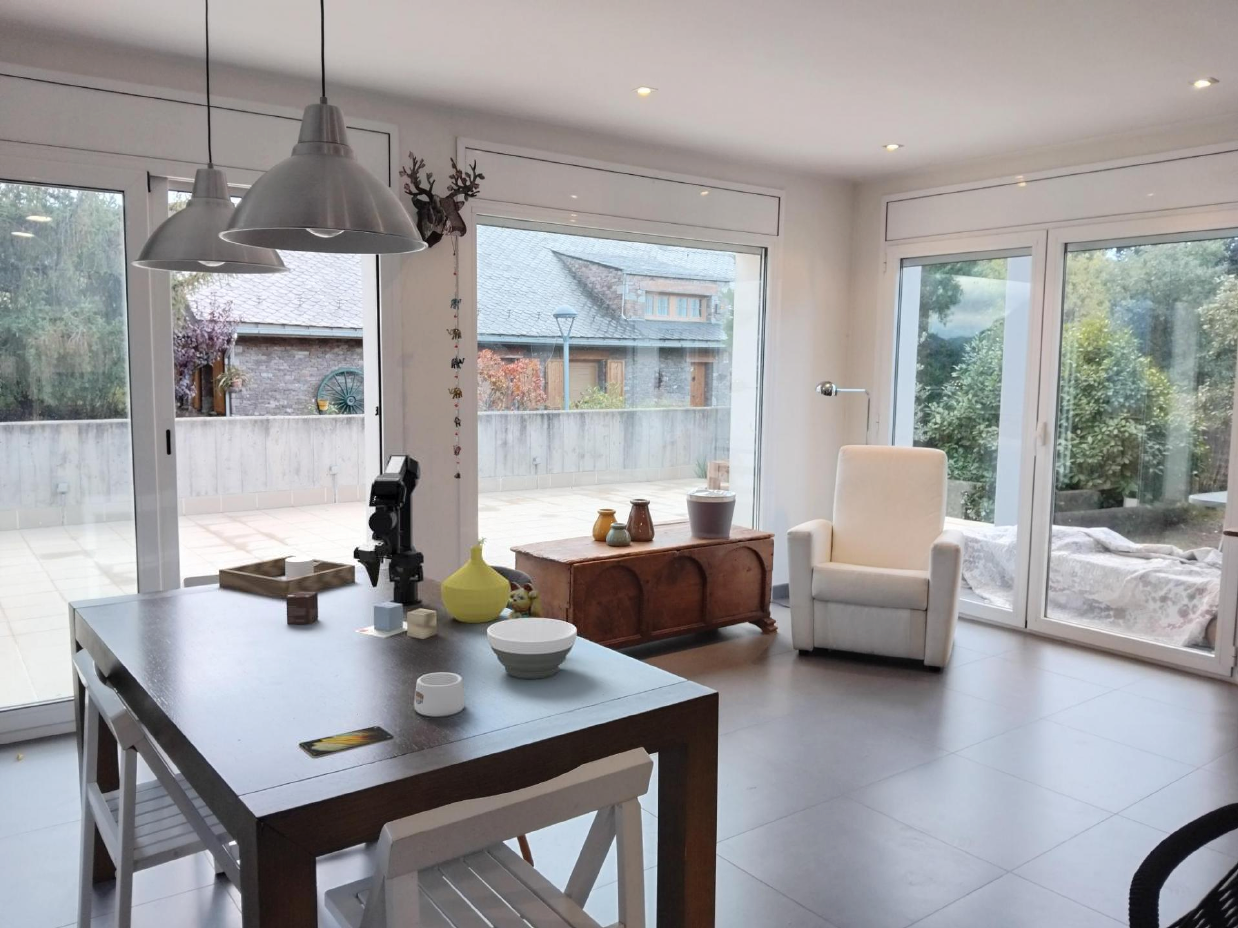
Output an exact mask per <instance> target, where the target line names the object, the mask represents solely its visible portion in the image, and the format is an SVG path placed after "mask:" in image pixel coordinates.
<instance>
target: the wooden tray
mask: <svg viewBox="0 0 1238 928" xmlns="http://www.w3.org/2000/svg"><path fill="white" fill-rule="evenodd" d="M291 557H298V556H296V555H287V556H282V557H277V558H272V559H267V560H260V561H256V562H252V563H246V564H241V565H237V566H231V567H226V568H222V569H218V579H219V583H218V584H219V585H218V586H219V587H220V588H225V589H232V590H236V591H243V592H248V593H253V594H259V595H263V596H269V597H273V598H279V599H283V600H284V599H285V600H286V597H287V596H288V595H290V594H292V593H294V592H296V591H301V592H318V591H322V590H325V589H326V590H327V589H331V588H334V587H339V586H342V585H347V584H351V583H354V582H356V565H355V564H349V563H342V562H335V561H328V560H321V559H316V558H313V559H314V562H323V563H319V564H318V565H315V566H314V574H309V575H305V576H300V577H296V578H291V579H287V580H286V579H284V578H283V579H282V578H278V577H277V578H276V577H274V576H279V575H284V574H285V559H287V558H291Z"/></svg>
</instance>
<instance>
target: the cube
mask: <svg viewBox="0 0 1238 928" xmlns="http://www.w3.org/2000/svg"><path fill="white" fill-rule="evenodd" d="M403 607H404V605H403V604H398V603H393V602H390V601H386V602H382V603H379V604H375V605H373V626H374V629H376V630H382V631H387V632H391V631H394V630H397V629H400V628H403V621H404V608H403Z"/></svg>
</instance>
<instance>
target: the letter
mask: <svg viewBox="0 0 1238 928" xmlns="http://www.w3.org/2000/svg"><path fill="white" fill-rule="evenodd" d="M406 631H407V621H404V620H403V628H400V629H397V630H394V631H391V632H387V631H382V630H376V629H374V625H370V626H367V627H364V628H361V629H358V630H355V631H353V632H354V633H359V634H363V635H368V636H373V637H378V638H383V639H385V638H388V637H390V636H394V635H397V634H400V633H404V632H406Z"/></svg>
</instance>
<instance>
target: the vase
mask: <svg viewBox="0 0 1238 928" xmlns="http://www.w3.org/2000/svg"><path fill="white" fill-rule="evenodd" d="M511 592H512V590H511V587H510V581H509V580H508V579H507V578H506V577H504V576H503V575H501V573H499V572H497V571H496V570H495V569H494V568H492V567H491V566H490V565H489V564H487V563H486V561H485V560H484V559H483V547H482V546H479V545H477V546H475V545H474V546H471V547H470V557H469V560H467V562H466V563H465V564H464V565H463V566H462V567H461V568H459V569H457V570H456V571H455V572H454V573H453V574H451V575H450V576H449V577H447V578H446V579H444V581H442V583H441V586H440V595H441V600H442V602H443V605H444V608H445V610H446V611H448V613H449V615H450V616H451V617H453V618H454V619H456V620H457V621H459V622H462V623H468V624H480V623H481V624H482V623H488V622H491V621H494V620H496V619H497V618H498V617H499V616H500V615H501V614H502V613H503V612H504V610H505V609H506V607H507V606H508V604H509V602H508V599H509V596H510V594H511Z"/></svg>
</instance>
